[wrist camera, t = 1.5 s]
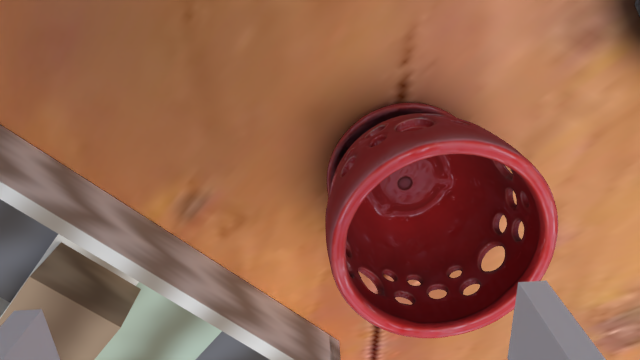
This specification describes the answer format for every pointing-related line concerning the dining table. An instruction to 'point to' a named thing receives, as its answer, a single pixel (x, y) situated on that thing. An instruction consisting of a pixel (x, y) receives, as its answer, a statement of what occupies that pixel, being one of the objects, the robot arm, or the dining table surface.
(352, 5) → the dining table surface
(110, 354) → the box
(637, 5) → the mortar and pestle
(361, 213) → the plant pot
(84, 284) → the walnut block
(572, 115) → the dining table surface
